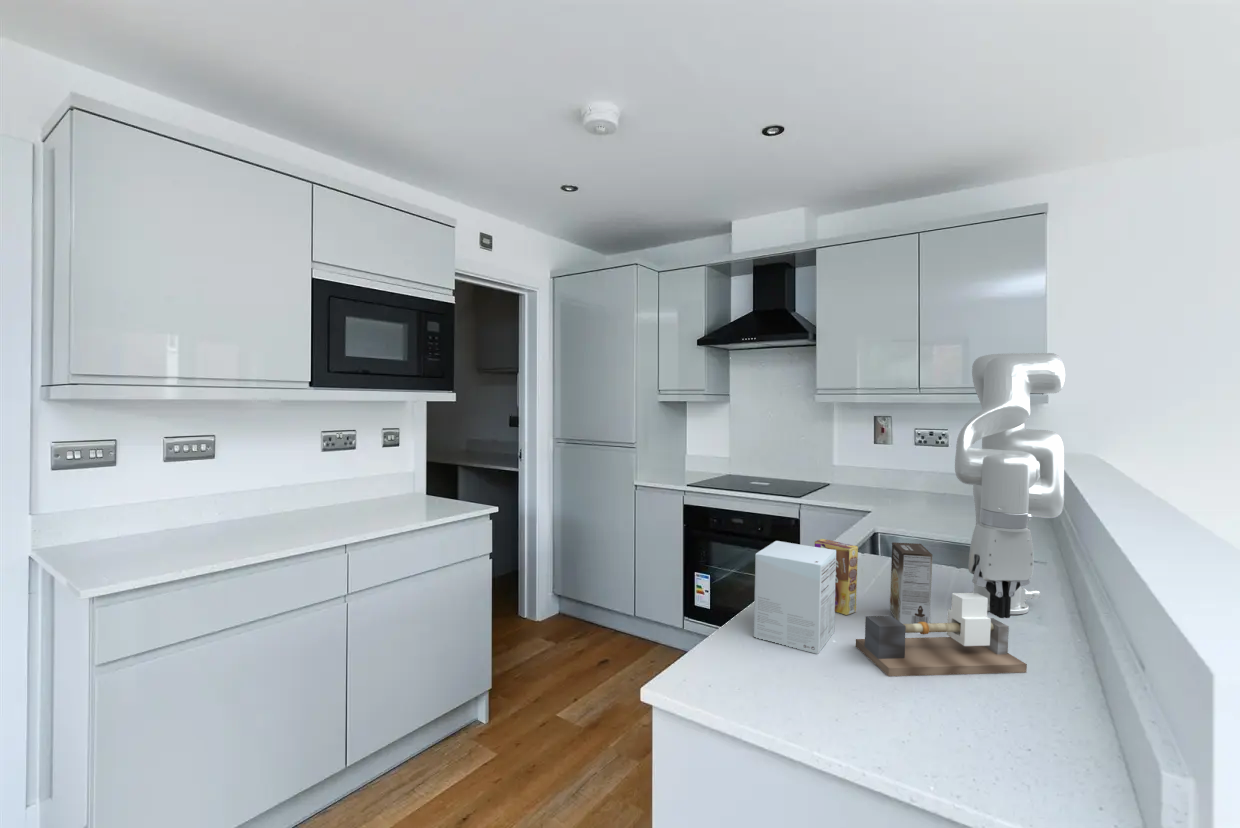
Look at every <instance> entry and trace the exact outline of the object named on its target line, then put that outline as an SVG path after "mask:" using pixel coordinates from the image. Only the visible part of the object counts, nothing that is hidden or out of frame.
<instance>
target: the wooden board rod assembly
mask: <svg viewBox="0 0 1240 828" xmlns="http://www.w3.org/2000/svg"><path fill="white" fill-rule="evenodd" d="M989 618H990V619H991V629H990V645H987V646H963V645H962V644H960V643H959V642H957V641H956V640H954V639H953V638H951V637H950V636H935V637H933V636H931V637H930V636H929V637H906V634H912V633H914V634H917V633H919V634H920V635H928V634H930V633H947V632H960V630H961V623H947V622H936V623H935V622H930V623H926V622H918V624H902V623H901V622H899V621H898V620H896V619H895V617H894V616H892V615H890V614H889V615H866V616H865V619H864V620H865V622H864V624H865V625H864V626H865V627H864V630H865V631H864V638H855V647H856V649H858V650H859V652H861V653H862V654H863V655H864V656H865V657H867V659H868V660H870V662H872V663H873V664H874V665H875V666H877V668H878V669H880V670H881V671H882V672H883V673H885V675H887V676H888V677H909V676H910V677H914V676H915V677H916V676H946V675H947V676H948V675H980V674H981V675H982V674H1013V673H1014V674H1018V673H1020V674H1021V673H1027V670H1028V669H1027V668H1028V667H1027V666H1028V665H1027V662H1024V661H1022V660H1021V659H1019V658H1017V657H1015V656H1014V655H1012V654H1010V652H1009V631H1010V630H1009V629H1010V626H1009V625H1007V624H1005V623H1004V622H1002V621H1000V620H998V619H996V618H994V617H989Z"/></svg>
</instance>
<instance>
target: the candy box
mask: <svg viewBox="0 0 1240 828" xmlns="http://www.w3.org/2000/svg"><path fill="white" fill-rule="evenodd" d="M814 547H820V548H826V549H833V550H836V580H835V613H838V614H841V615H844V616H845V615H846V616H849V615H852V614H854V613H856V612H857V588H858V587H857V586H858V585H857V584H858V582H857V581H858V560H859V559H858V557H859V546H858V545H853V544H849V543H843V542H839V541H836V540H835V541H834V540H831V539H825V538H820V539H817V540H815V541H814Z"/></svg>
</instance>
